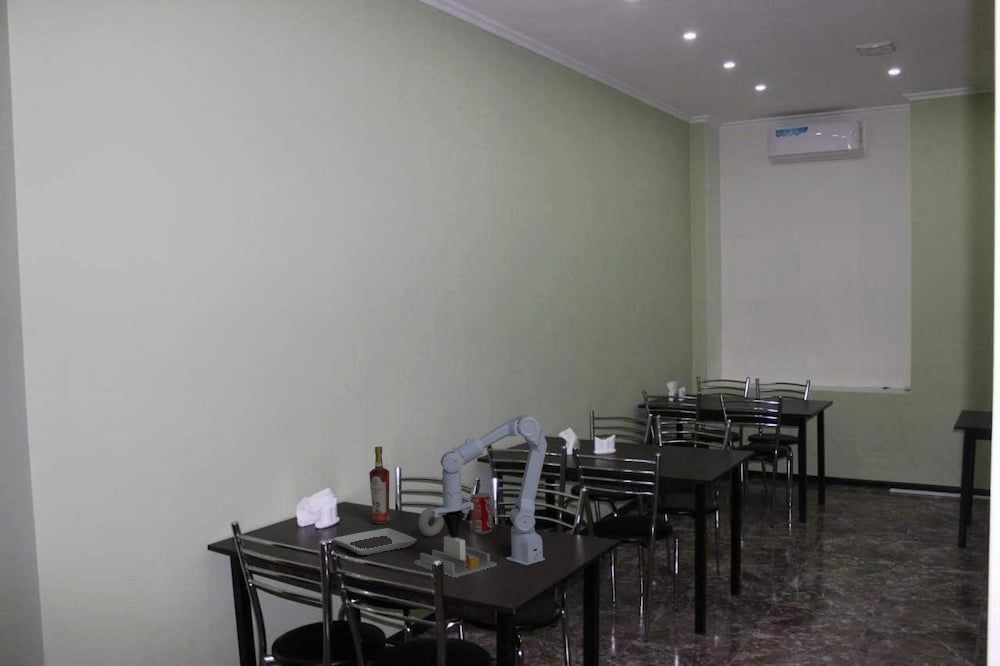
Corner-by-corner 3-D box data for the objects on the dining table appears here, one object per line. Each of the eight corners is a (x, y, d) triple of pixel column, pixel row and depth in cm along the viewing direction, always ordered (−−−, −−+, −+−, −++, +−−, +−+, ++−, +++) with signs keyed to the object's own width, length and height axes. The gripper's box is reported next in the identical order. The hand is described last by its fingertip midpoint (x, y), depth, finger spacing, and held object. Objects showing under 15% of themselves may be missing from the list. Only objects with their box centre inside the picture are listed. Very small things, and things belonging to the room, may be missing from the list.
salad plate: (388, 536, 296) (387, 526, 296) (418, 548, 278) (418, 538, 278) (331, 547, 284) (331, 537, 284) (359, 561, 266) (358, 550, 266)
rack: (496, 566, 255) (496, 552, 255) (453, 578, 244) (453, 564, 244) (456, 553, 270) (455, 540, 270) (414, 564, 260) (413, 551, 260)
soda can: (490, 535, 291) (488, 497, 290) (469, 534, 292) (468, 497, 292) (494, 529, 298) (493, 492, 297) (474, 529, 299) (473, 492, 299)
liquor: (368, 525, 310) (365, 448, 310) (375, 520, 317) (372, 445, 317) (387, 525, 309) (384, 448, 308) (394, 520, 316) (391, 445, 315)
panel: (465, 563, 255) (465, 540, 255) (460, 564, 253) (459, 541, 253) (449, 558, 261) (448, 535, 261) (444, 559, 260) (443, 536, 259)
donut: (422, 539, 288) (421, 510, 287) (416, 538, 290) (415, 508, 290) (446, 534, 294) (445, 505, 294) (440, 532, 297) (439, 503, 296)
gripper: (463, 486, 264) (464, 529, 265) (424, 494, 255) (426, 539, 255) (477, 489, 259) (478, 533, 259) (438, 497, 250) (440, 543, 250)
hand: (453, 536), depth 257 cm, fingers closed
